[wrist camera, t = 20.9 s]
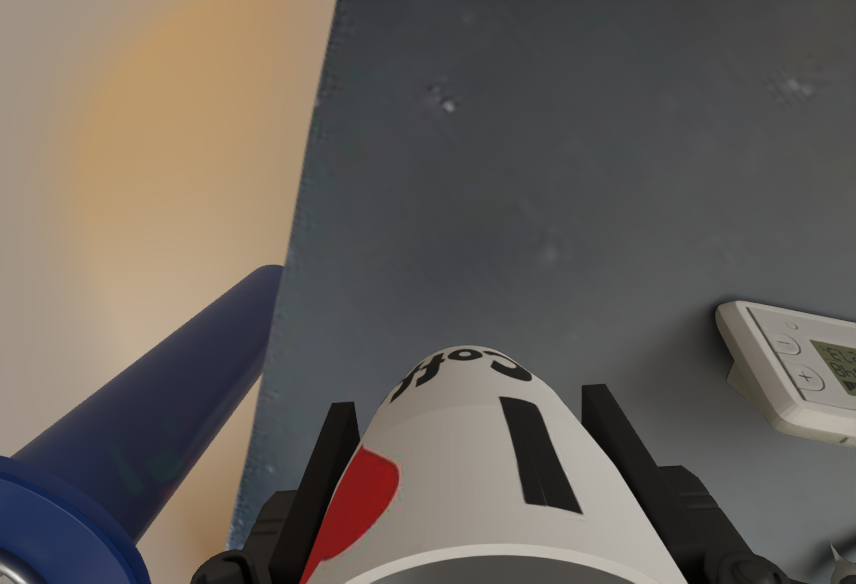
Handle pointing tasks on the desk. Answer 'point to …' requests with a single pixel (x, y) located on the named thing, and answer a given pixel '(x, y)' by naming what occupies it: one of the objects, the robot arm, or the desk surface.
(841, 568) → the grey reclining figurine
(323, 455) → the robot arm
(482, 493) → the cup
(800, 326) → the digital clock
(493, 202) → the desk surface
